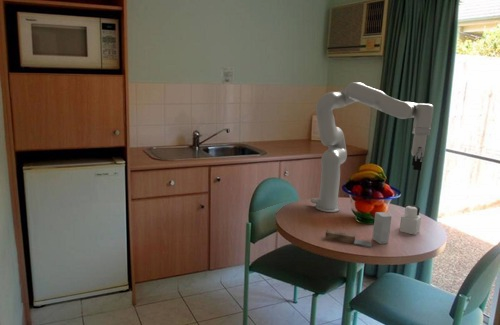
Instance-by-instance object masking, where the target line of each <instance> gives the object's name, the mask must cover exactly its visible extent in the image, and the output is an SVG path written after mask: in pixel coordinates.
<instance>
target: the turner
mask: <svg viewBox="0 0 500 325" xmlns="http://www.w3.org/2000/svg"><path fill="white" fill-rule="evenodd" d="M324 238H325V240H329V241H335V242H341V243H348V244H353V246H357V247H362V248H369V249H371V248H372V246H373V241H370V240H369V241H368V240H363V239H357V238H356V234H350V233H346V232H344V233H343V232H339V231H334V230H333V231H332V230H326V231H325V237H324Z"/></svg>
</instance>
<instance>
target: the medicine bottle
mask: <svg viewBox="0 0 500 325" xmlns="http://www.w3.org/2000/svg"><path fill="white" fill-rule="evenodd" d="M420 210H421V209H420V207H419V206H418V205H414V204H408V205H406V206H405V209H404V214H403V215H402V216H401V217H400V225H399V232H402V233H405V234H410V235H413V236H416V235H417V234H418V233H419V232H420V229H421V223H422V216H420Z"/></svg>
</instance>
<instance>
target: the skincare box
mask: <svg viewBox="0 0 500 325" xmlns="http://www.w3.org/2000/svg"><path fill="white" fill-rule="evenodd" d="M391 223H392V216H391V215H390V214H388V213H386V212H384V211H382V212H381V211H380V212H378V211H377V212H375V214H374V223H373V229H372V240H374V241H375V242H376V243H378V244H380V245H382V244H389V240H390V232H391Z"/></svg>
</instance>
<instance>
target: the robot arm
mask: <svg viewBox="0 0 500 325" xmlns="http://www.w3.org/2000/svg"><path fill="white" fill-rule="evenodd" d="M354 103H360V104H363V105H365V106H367V107H371V108H373V109H375V110H377V111H380V112H381V113H384V114H387V115H389V116H392V117H395V118H397V119H401V120H407V119H410V118H413V124H412V132H411V134H413V139H412V140H413V141H412V147H411V151H410V153H411V156H412V163H411V166H412V169H413V171H421V170H422V164H423V161H422V160H423V157H424V155H425V151H426V150H425V149H426V144H427V136H430V135H431V130H432V128H431V127H432V122H433V116H434V107H435V106H434V105H433V104H431V103H423V102H419V103H418V102H411V101H402V100H399V99H397V98H395V97H392V96H389V95H387V94H386V93H385V92H384V91H383V90H380V89H377V88H373V87H372V86H368V85H366V84H365V83H363V82H359V81H355V82H354V81H352V82H350V83H348V84H347V85H346V87H344V88H343V89H340V90H338V91H330V92H326V93H325V94H322V95H321V96H320V97H319V99H318V101H317V103H316V106H315V112H316V119H317V125H318V131H319V133H318V134H319V139H320V142H321V144H322V145H323V146H324V147H327V150H325V151H324V152H323V154H322V156H321V158H320V159H321V161H320V164H321V166H320V167H321V174H320V186H319V195H318V197H319V198H310V202H311V203H312V204H315V206H314V207H315V209H317V210H318V211H321V212H323V213H324V212H325V213H337V212H340V211H341V207H340V206H339V205H338V202H339V191H340V190H339V189H340V180H341V179H340V178H341V165H342V164H344V163H345V162H346V160H347V158H348V150H347V145H346V139H345V138H346V137H345V134H344V132H343V129H341V128H340V127H338V126H337V125H336V118H335V116H334V112H333V110H336V109H341V108H345V107H346V106H349V105H351V104H354Z"/></svg>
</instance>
